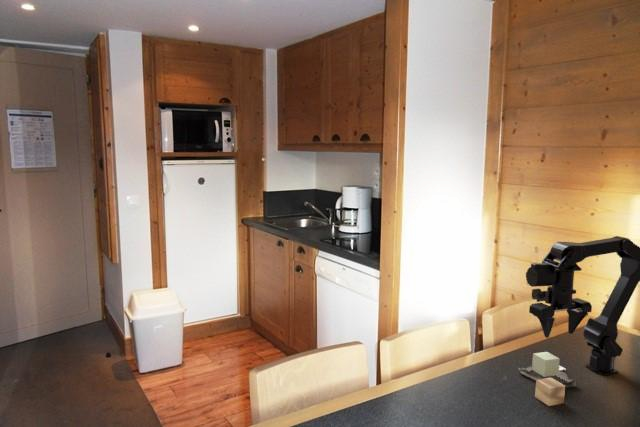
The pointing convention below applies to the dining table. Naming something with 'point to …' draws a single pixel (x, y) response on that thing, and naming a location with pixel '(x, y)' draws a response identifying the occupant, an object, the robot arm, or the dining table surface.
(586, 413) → the dining table surface
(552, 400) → the honey block
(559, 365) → the card
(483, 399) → the dining table surface
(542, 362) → the sage block
